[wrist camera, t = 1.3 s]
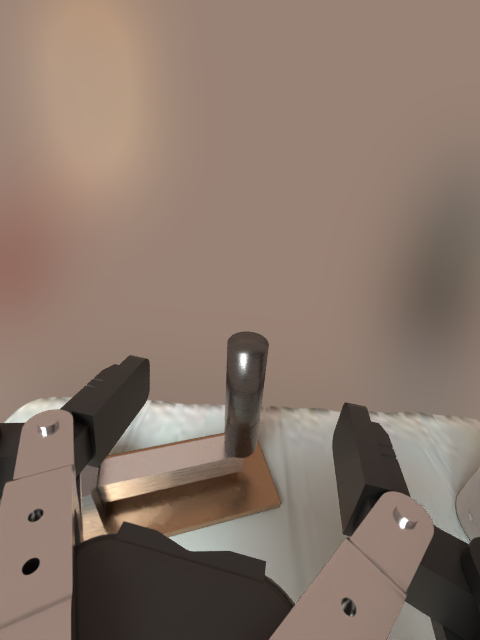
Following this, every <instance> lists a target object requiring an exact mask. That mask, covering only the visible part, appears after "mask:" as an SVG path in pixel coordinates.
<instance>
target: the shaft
mask: <svg viewBox="0 0 480 640" xmlns="http://www.w3.org/2000/svg"><path fill="white" fill-rule="evenodd" d="M227 346H228V347H227V375H226V406H225V435H223V436H218V437H212V438H207V439H202V440H197V441H192V442H187V443H182V444H177V445H172V446H167V447H162V448H157V449H152V450H147V451H142V452H137V453H131V454H126V455H121V456H116V457H111V458H106V459H104V461H103V462H102V463H101V465H100V466H99V470H98V477H97V485H96V490H97V492H98V495H99V498H100V501H101V503H106V502H110V501H114V500H119V499H123V498H127V497H132V496H136V495H140V494H145V493H149V492H153V491H158V490H162V489H166V488H171V487H175V486H179V485H184V484H188V483H192V482H197V481H201V480H205V479H210V478H214V477H218V476H223V475H227V474H231V473H236V472H240V471H243V460H244V458H246V457H248V456H250V455H252V454H253V453H254V451H255V449H256V445H257V437H258V429H259V421H260V412H261V404H262V396H263V388H264V380H265V371H266V363H267V354H268V347H269V344H268V341H267V340H266V338H264V337H263V336H262V335H260V334H257V333H254V332H239V333H236V334H234V335H232V336H231V337H230V338H229V339H228V345H227Z"/></svg>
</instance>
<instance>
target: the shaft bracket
mask: <svg viewBox="0 0 480 640" xmlns="http://www.w3.org/2000/svg"><path fill="white" fill-rule="evenodd" d="M223 435H225V433H221V434H216V435H211V436H205V437H200V438H195V439H190V440H185V441H180V442H175V443H170V444H165V445H159V446H154V447H149V448H144V449H139V450H134V451H129V452H124V453H119V454H113V455H108V456H107V457H106V458H111V457H116V456H121V455H126V454H131V453H137V452H142V451H147V450H152V449H157V448H162V447H167V446H172V445H177V444H182V443H187V442H192V441H197V440H202V439H207V438H212V437H218V436H223ZM106 458H105V459H106ZM98 470H99V468H96V467H92V466H88V465H86V466H85V468H84V469H83V470H82V472H81V473H80V474H81V491H82V519H83V535H84V541H85V540H88V539H91V538H93V537H97V536H100V535H105V534H111V533H117V532H118V531H119V529H120V527H121V525H122V523H123V521H125V522H129V523H132V524H136V525H140V526H143V527H147V528H150V529H154V530H157V531H159V532H160V533H162V534H163V535H165V536H166V537H171V536H174V535H178V534H182V533H185V532H189V531H193V530H196V529H200V528H204V527H208V526H211V525H215V524H219V523H222V522H226V521H230V520H233V519H237V518H241V517H244V516H248V515H252V514H256V513H259V512H263V511H267V510H270V509H274V508H278V507H280V503H281V502H280V499H279V497H278V494H277V491H276V488H275V486H274V483H273V480H272V478H271V475H270V472H269V469H268V467H267V464H266V461H265V459H264V456H263V453H262V450H261V448H260V445H259V442H258V440H257V445H256V449H255V451H254V453H253V454H252V455H250V456H248V457H246V458H244V460H243V471H240V472H236V473H231V474H227V475H223V476H218V477H214V478H210V479H205V480H201V481H197V482H192V483H188V484H184V485H179V486H175V487H171V488H166V489H162V490H158V491H153V492H149V493H145V494H140V495H136V496H132V497H127V498H123V499H119V500H114V501H110V502H106V503H101V501H100V498H99V495H98V492H97V490H96V485H97V477H98ZM1 500H2V498H1V499H0V505H1Z"/></svg>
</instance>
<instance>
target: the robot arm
mask: <svg viewBox="0 0 480 640" xmlns="http://www.w3.org/2000/svg"><path fill="white" fill-rule="evenodd" d="M149 387H150V365H149V360H148V359H146V358H141V357H136V356H132V355H130V356H128V357H127V358H126V359H125V360H124V361H123V362H122V363H121V364H120V365H116V364H115V365H112V366H110V367H108V368H106V369H104V370H102V371H101V372H100V373H99V374H98V375H97V376H96V377H95V378H94V380H91V381H90V382H89V383H88V384H87V386H85V387H84V388H83V389H82V390H80V391H79V392H78V393H77V394H76V395H75V396H74V397H73V398H72V399H70V400H69V401H68V402H67V403H66V404H65V405H64V406H63V407H62V408H61V409H60V410H58V409H57V410H48V411H44V412H41V413H39V414H37V415H35V416H33V417H32V418H30V419H29V420H28V421H27V422H26V423H0V499H1V498H2V500H1V505H0V640H386V639H387V637H388V635H389V633H390V631H391V629H392V627H393V625H394V622H395V620H396V618H397V616H398V614H399V612H400V610H401V608H402V606H403V603H404V601H406V602H407V603H409V604H410V605H412V606H413V607H415V608H416V609H418V610H419V611H421V612H423V613H424V614H426V615H427V616H429V617H430V618H431V622H432V626H433V630H434V633H435V637H436V640H480V467H479V468H478V469H477V470H476V472H475V473H474V474H473V476H472V477H471V478H470V479H469V481H468V482H467V483H466V484H465V486H464V487H463V488H462V490H461V491H460V493H459V494H458V496H457V501H456V509H457V514H458V517H459V520H460V523H461V525H462V527H463V529H464V531H465V533H466V535H467V536H468V538H469V539H470V540H471V542H470V543H469V544H467V543H465V542H463V541H461V540H459V539H458V538H456V537H454V536H452V535H450V534H448V533H446V532H444V531H442V530H441V529H439V528H437V527H436V526H435V525H433V523H432V520H431V518H430V516H429V515H428V513H427V512H426V511H425V510H424V508H423V507H422V506H421V505H420V504H419V503H417V502H416V501H415V500H414V499H412V498H411V497H410V494H409V491H408V488H407V485H406V483H405V480H404V477H403V474H402V472H401V469H400V466H399V463H398V460H397V459H396V455H395V452H394V449H392V447H393V446H392V444H391V441H390V438H389V435H388V434H387V433H386V431H385V430H384V429H383V428H382V427H381V425H380V424H379V423H375V422H371V420H370V417H369V413H368V410H367V408H366V407H365V406H360V405H356V404H351V403H344V405H343V408H342V411H341V413H340V416H339V419H338V422H337V425H336V428H335V431H334V435H333V442H332V449H333V457H334V465H335V473H336V481H337V489H338V497H339V505H340V513H341V521H342V529H343V534H344V535H347V536H351V537H350V538H348V537H347V538H346V539H345V540H344V541H343V543H342V544H341V545H340V547H339V548H338V549H337V550H336V552H335V553H334V554H333V556H332V557H331V558H330V560H329V561H328V562H327V564H326V565H325V566H324V568H323V569H322V570H321V572H320V573H319V574H318V576H317V577H316V578H315V579H314V581H313V582H312V583H311V585H310V586H309V587H308V589H307V590H306V591H305V593H304V594H303V595H302V597H301V598H300V599H299V601H298V602H297V603H296V605H295V604H294V602H293V601H292V600H291V598H290V597H289V596H288V594H287V593H286V592H285V591H284V590H283V589H282V588H281V587H280V586H279V585H278V584H276V583H275V582H274V581H273V580H272V579H270V578H269V577H267V576H266V575H265V566H266V561H263V560H259V559H256V558H252V557H249V556H245V555H242V554H238V553H234V552H231V551H199V552H193V551H188V550H186V549H185V548H183V547H182V546H180V545H179V544H177V543H175V542H174V541H172V540H171V539H169V538H168V537H166V536H165V535H163V534H162V533H160V532H159V531H157V530H154V529H150V528H147V527H143V526H140V525H136V524H132V523H129V522H125V521H123V523H122V525H121V527H120V529H119V531H118V532H117V533H111V534H105V535H100V536H97V537H93V538H91V539H88V540H85V541H84V535H83V519H82V491H81V474H80V473H81V472H82V470H83V469H84V468H85V466H86V465H88V466H92V467H96V468H99V466H100V465H101V463H102V462H103V461H104V459H105V458H106V457H107V455H108V454H109V452H110V451H111V450H112V448H113V447H114V446H115V444H116V443H117V441H118V440H119V439H120V437H121V436H122V435H123V433H124V432H125V430H126V429H127V428H128V426H129V425H130V424H131V422H132V421H133V419H134V418H135V417H136V415H137V414H138V413H139V411H140V410H141V408H142V407H143V406H144V404H145V403H146V401H147V398H148V395H149V389H150V388H149Z"/></svg>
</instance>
